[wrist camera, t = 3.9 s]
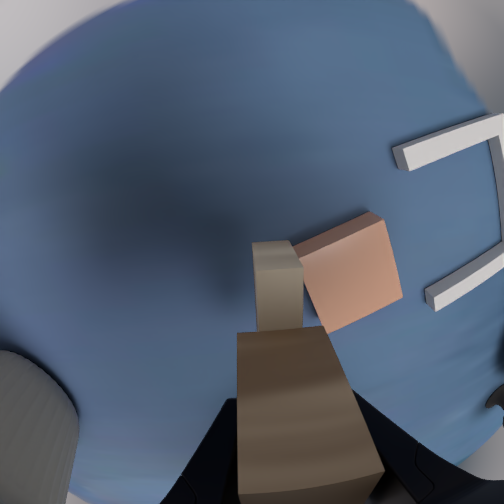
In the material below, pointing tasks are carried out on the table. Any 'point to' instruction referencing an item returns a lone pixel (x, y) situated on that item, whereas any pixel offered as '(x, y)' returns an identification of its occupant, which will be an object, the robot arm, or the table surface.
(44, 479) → the canister
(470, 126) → the corral
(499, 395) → the sundae
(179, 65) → the table surface
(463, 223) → the table surface
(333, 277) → the tile
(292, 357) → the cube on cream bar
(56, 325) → the table surface
